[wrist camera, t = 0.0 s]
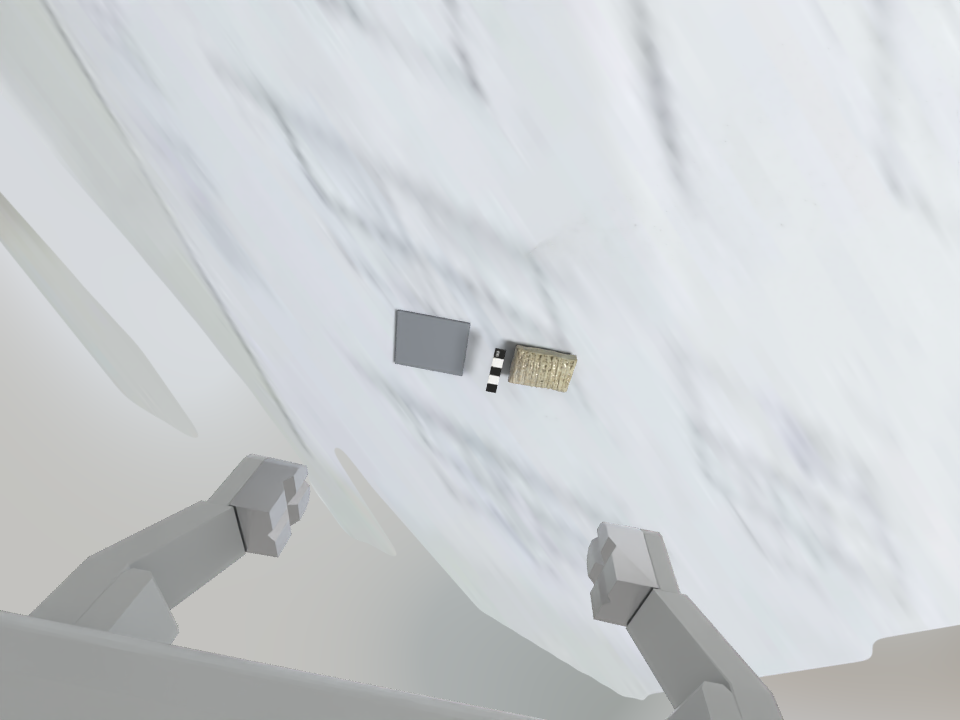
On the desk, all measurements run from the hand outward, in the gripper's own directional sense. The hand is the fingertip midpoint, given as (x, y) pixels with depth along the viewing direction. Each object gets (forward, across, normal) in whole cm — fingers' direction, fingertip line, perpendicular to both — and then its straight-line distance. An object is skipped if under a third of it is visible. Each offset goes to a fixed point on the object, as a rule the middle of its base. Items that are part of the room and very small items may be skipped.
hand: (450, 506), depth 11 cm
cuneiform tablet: (+42, -1, +21) cm, 46 cm away
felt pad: (+44, +8, +21) cm, 49 cm away
